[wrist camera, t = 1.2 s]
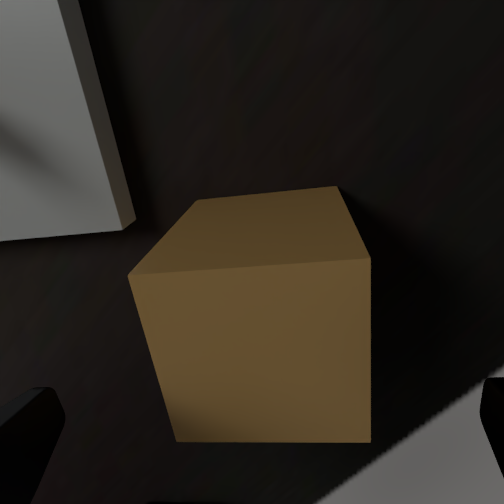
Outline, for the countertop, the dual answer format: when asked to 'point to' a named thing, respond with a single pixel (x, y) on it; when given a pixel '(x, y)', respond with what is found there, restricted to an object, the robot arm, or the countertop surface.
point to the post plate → (55, 128)
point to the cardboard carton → (261, 319)
